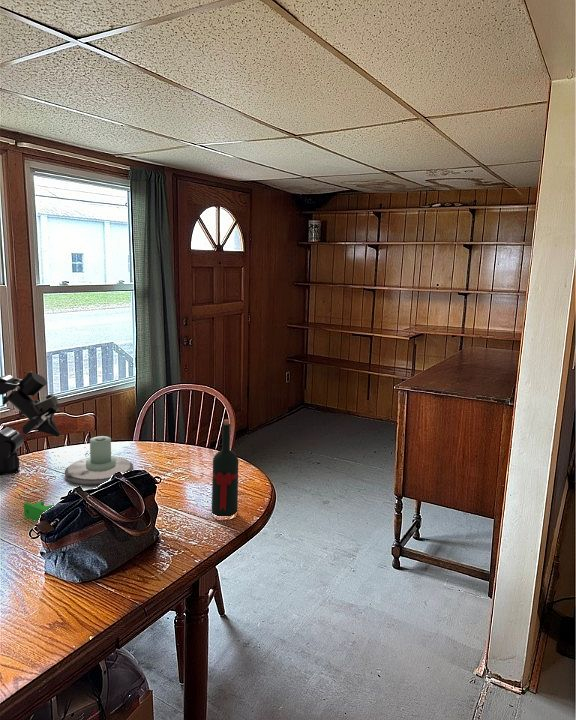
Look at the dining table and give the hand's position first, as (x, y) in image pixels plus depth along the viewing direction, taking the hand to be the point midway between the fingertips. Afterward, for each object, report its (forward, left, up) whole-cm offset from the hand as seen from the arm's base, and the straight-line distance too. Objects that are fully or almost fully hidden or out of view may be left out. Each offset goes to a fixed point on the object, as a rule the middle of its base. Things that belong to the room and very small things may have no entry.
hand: (59, 435), depth 180 cm
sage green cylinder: (+12, -8, -11) cm, 18 cm away
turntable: (+11, -8, -14) cm, 19 cm away
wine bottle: (+30, -61, -14) cm, 70 cm away
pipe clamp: (-14, -33, -14) cm, 39 cm away
